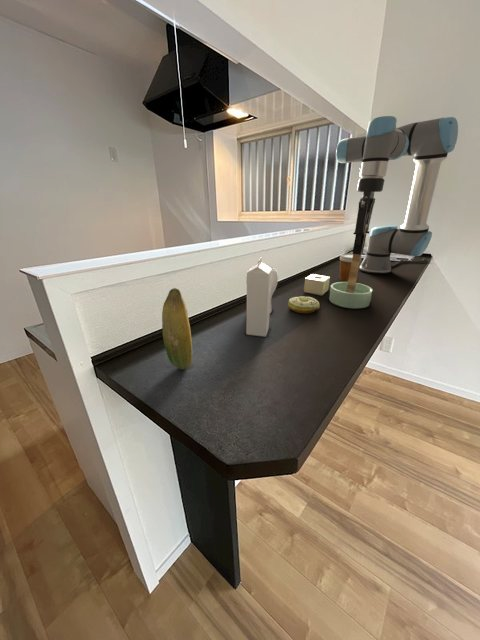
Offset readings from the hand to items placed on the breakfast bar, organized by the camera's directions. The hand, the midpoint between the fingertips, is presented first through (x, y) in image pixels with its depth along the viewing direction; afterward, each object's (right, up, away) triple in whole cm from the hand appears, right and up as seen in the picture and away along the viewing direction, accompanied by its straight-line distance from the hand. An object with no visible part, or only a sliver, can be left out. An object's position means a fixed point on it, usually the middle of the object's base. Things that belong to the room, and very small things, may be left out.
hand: (357, 253), depth 93 cm
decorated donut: (-19, -20, +2) cm, 27 cm away
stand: (-9, -11, +20) cm, 25 cm away
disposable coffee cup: (+10, -5, +34) cm, 36 cm away
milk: (-36, -27, -13) cm, 47 cm away
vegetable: (-56, -36, -31) cm, 73 cm away
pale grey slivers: (-34, -21, +1) cm, 40 cm away
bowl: (0, -17, +8) cm, 19 cm away
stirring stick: (0, -13, +6) cm, 15 cm away
